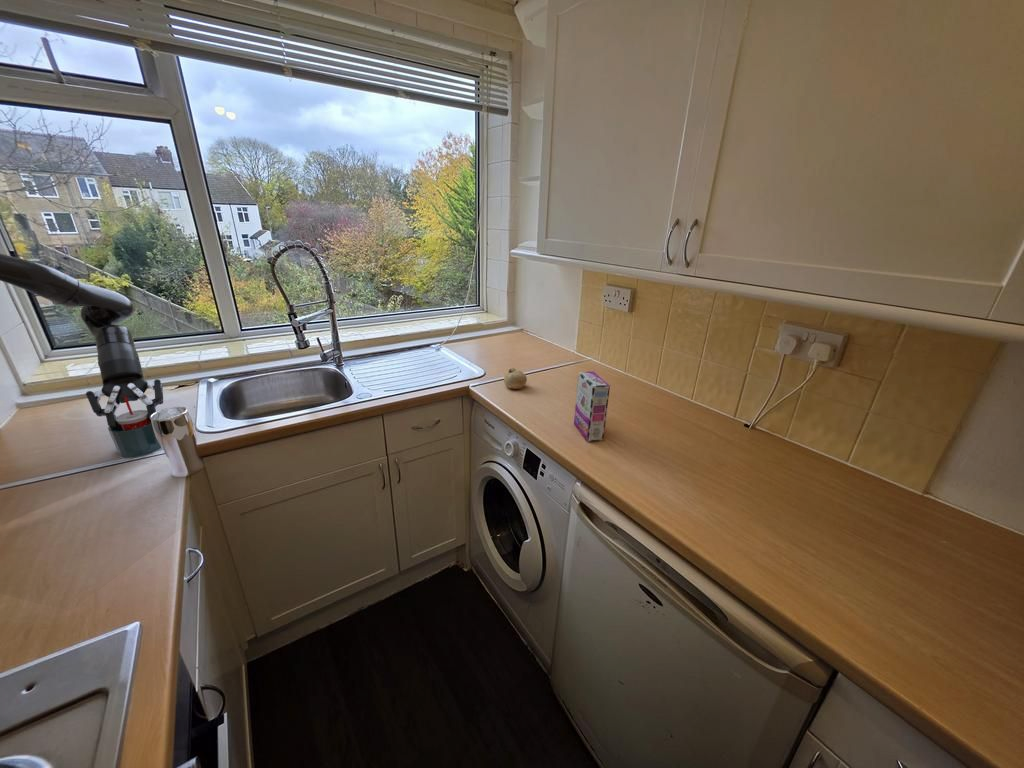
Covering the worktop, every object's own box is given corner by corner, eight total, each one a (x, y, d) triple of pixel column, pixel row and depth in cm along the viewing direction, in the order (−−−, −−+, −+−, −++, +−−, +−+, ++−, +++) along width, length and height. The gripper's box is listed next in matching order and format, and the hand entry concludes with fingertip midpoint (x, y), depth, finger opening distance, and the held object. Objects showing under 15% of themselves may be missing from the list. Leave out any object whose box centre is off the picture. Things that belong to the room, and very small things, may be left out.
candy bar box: (604, 441, 110) (611, 385, 104) (587, 442, 109) (592, 386, 103) (589, 422, 120) (594, 370, 114) (573, 423, 119) (577, 371, 113)
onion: (518, 381, 149) (519, 363, 146) (530, 388, 142) (531, 370, 140) (499, 385, 145) (499, 367, 142) (511, 393, 139) (511, 374, 136)
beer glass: (173, 482, 91) (151, 423, 85) (167, 470, 95) (145, 413, 89) (210, 469, 96) (191, 412, 90) (202, 458, 100) (184, 403, 94)
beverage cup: (166, 442, 104) (148, 393, 99) (141, 455, 99) (121, 403, 93) (147, 439, 105) (128, 390, 100) (121, 452, 100) (100, 400, 94)
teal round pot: (133, 466, 96) (120, 435, 93) (112, 456, 100) (99, 426, 97) (178, 447, 104) (168, 418, 101) (157, 438, 108) (147, 410, 105)
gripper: (160, 366, 109) (174, 421, 105) (86, 377, 101) (98, 438, 97) (153, 352, 103) (168, 410, 99) (74, 363, 95) (87, 427, 91)
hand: (134, 424), depth 98 cm, fingers closed on beverage cup, 6 cm apart
